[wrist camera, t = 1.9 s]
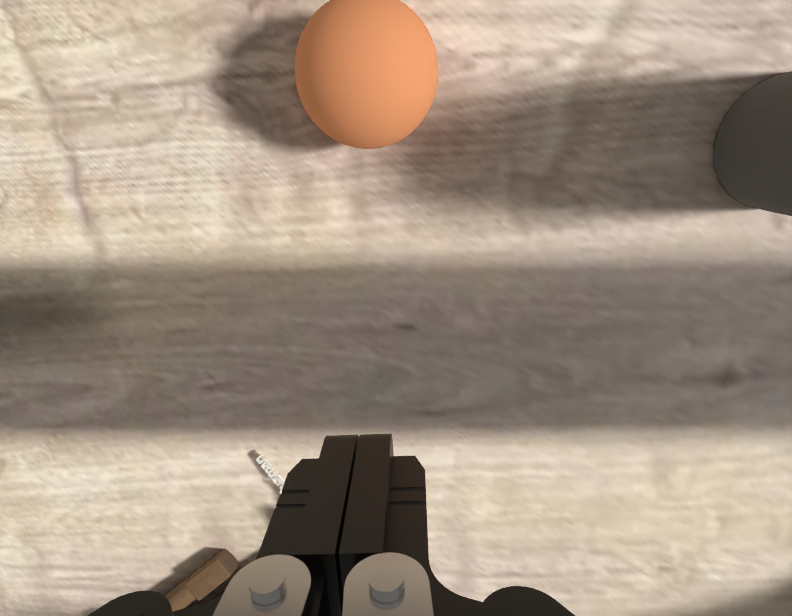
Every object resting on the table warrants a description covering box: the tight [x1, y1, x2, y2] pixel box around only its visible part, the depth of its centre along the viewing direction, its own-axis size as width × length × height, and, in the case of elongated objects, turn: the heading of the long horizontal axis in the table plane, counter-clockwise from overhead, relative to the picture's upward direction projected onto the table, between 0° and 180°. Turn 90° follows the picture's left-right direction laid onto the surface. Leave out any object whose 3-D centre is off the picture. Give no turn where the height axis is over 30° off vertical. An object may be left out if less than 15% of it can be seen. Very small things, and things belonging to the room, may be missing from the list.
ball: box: [294, 0, 438, 149], centre depth 20 cm, size 6×6×6 cm
